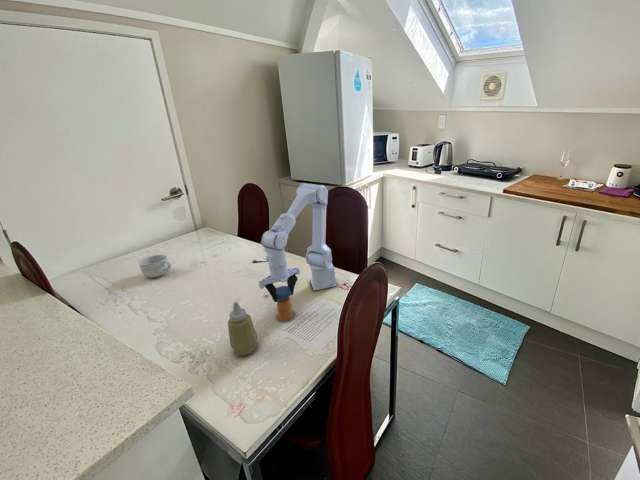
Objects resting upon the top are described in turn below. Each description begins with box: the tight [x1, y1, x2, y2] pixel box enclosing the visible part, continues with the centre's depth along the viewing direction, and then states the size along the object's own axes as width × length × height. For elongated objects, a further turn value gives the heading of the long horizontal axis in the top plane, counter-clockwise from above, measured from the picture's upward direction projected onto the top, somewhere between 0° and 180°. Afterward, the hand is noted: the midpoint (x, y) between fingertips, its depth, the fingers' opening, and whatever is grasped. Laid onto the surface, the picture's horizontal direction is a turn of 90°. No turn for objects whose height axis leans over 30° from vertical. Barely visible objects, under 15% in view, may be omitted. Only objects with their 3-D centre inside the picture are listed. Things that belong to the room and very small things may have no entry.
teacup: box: [137, 254, 172, 279], centre depth 142 cm, size 14×11×8 cm
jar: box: [276, 296, 294, 322], centre depth 113 cm, size 5×5×8 cm
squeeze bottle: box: [227, 301, 258, 356], centre depth 96 cm, size 8×8×18 cm
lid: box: [276, 285, 292, 300], centre depth 111 cm, size 6×6×2 cm
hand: (283, 297), depth 112 cm, fingers closed on lid, 6 cm apart
